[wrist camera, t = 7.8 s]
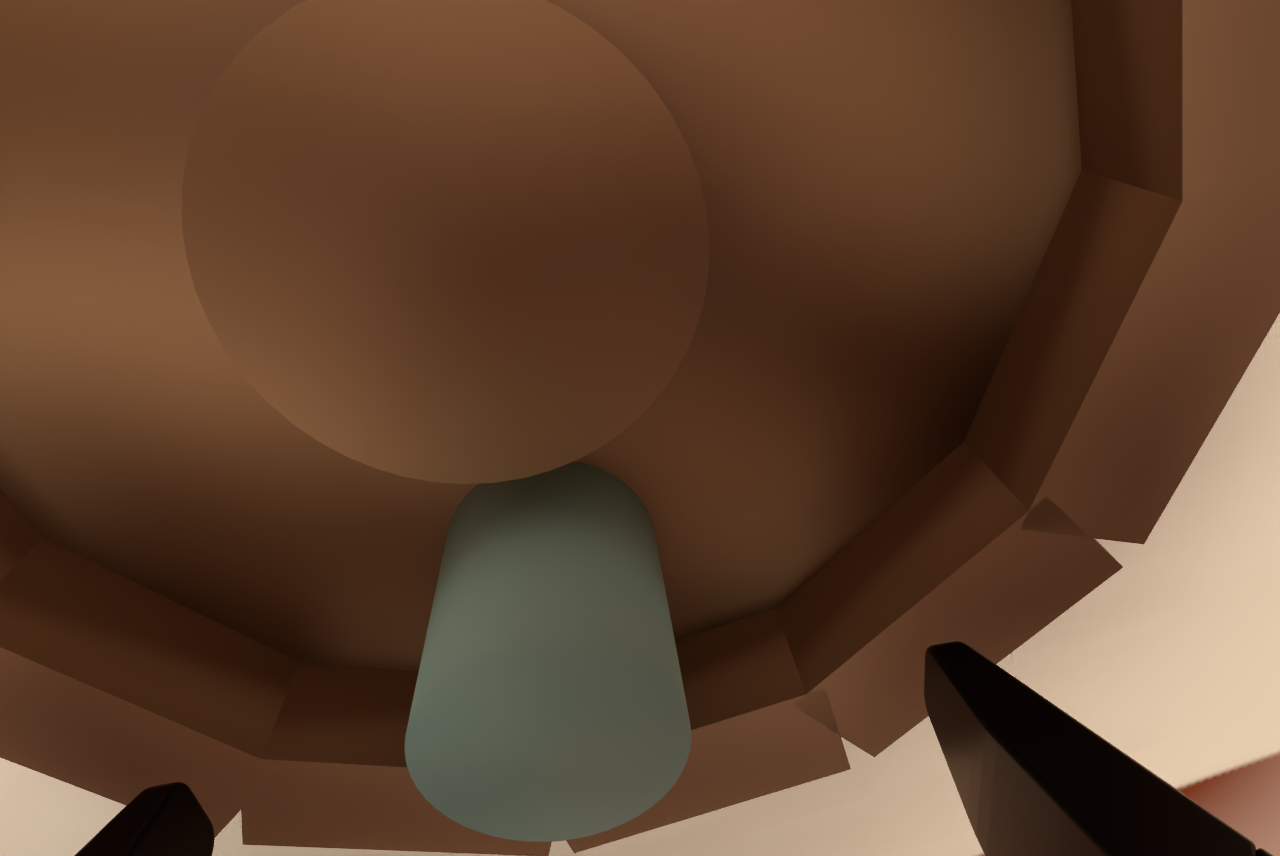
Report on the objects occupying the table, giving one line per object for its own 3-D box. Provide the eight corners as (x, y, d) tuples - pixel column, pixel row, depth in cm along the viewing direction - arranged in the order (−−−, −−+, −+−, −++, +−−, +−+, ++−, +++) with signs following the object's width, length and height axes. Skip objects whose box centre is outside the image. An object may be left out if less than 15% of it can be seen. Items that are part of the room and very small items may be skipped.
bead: (638, 441, 12) (671, 618, 9) (668, 609, 14) (706, 814, 10) (420, 480, 12) (365, 673, 9) (475, 643, 14) (447, 862, 10)
